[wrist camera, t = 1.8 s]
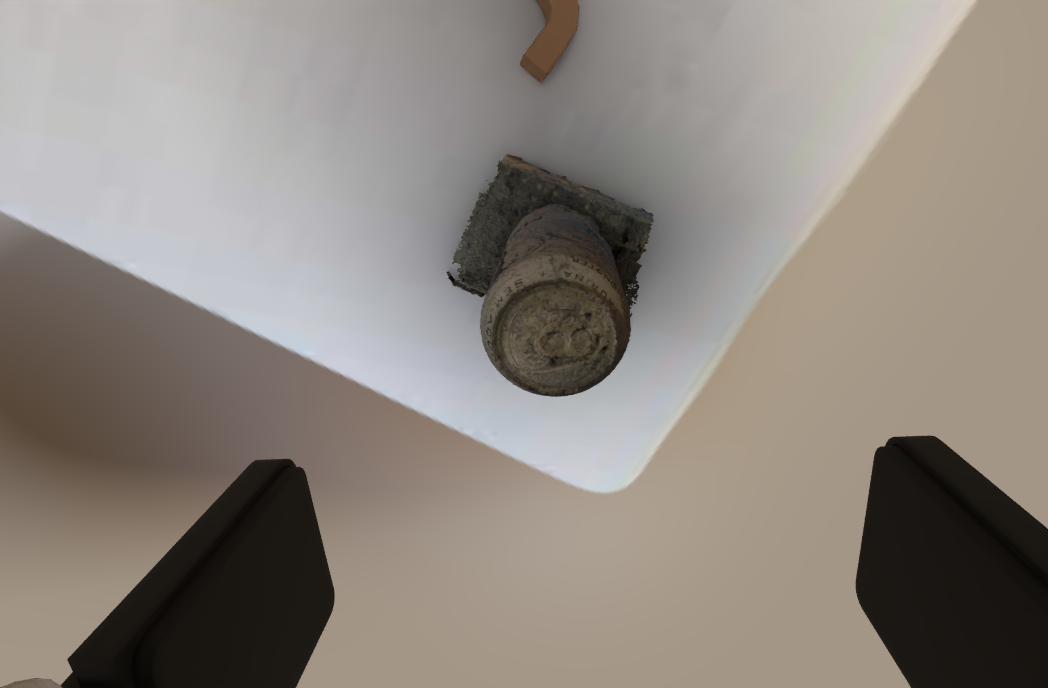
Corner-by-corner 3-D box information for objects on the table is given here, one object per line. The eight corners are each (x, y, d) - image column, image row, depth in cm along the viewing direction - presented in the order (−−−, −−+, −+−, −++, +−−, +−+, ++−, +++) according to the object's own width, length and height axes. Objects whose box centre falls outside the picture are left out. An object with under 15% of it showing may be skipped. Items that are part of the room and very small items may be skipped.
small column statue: (667, 184, 25) (724, 251, 14) (623, 342, 28) (643, 496, 18) (465, 144, 26) (371, 178, 15) (444, 304, 29) (353, 433, 18)
